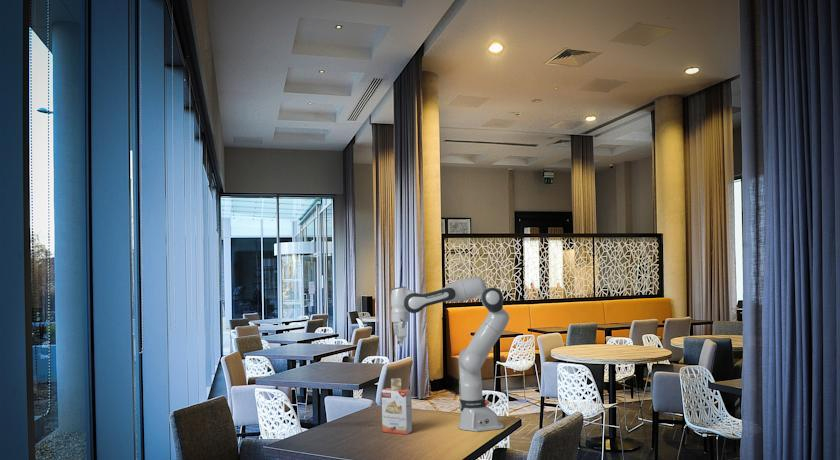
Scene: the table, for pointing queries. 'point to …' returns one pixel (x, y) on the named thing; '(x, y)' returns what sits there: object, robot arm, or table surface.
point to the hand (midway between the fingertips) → (400, 345)
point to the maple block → (396, 384)
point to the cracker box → (396, 411)
